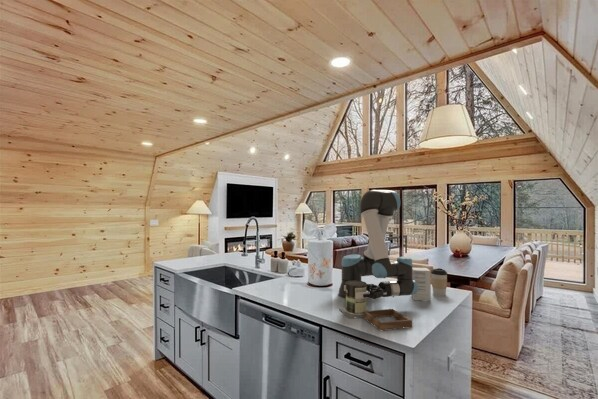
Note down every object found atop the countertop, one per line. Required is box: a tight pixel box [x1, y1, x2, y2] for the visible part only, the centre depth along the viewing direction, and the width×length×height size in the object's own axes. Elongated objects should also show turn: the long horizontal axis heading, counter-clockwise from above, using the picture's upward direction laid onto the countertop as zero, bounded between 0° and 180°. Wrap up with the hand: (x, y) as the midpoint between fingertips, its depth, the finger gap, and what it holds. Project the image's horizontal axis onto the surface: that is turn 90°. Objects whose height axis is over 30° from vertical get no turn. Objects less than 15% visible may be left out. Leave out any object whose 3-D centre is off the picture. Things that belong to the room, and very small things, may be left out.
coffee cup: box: [430, 267, 448, 297], centre depth 183 cm, size 9×9×15 cm
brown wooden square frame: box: [363, 308, 413, 331], centre depth 138 cm, size 15×15×3 cm
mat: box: [338, 307, 369, 319], centre depth 150 cm, size 13×13×1 cm
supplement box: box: [410, 267, 432, 302], centre depth 175 cm, size 10×9×17 cm
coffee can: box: [345, 280, 368, 315], centre depth 150 cm, size 10×10×14 cm
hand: (350, 291), depth 149 cm, fingers open, 13 cm apart
